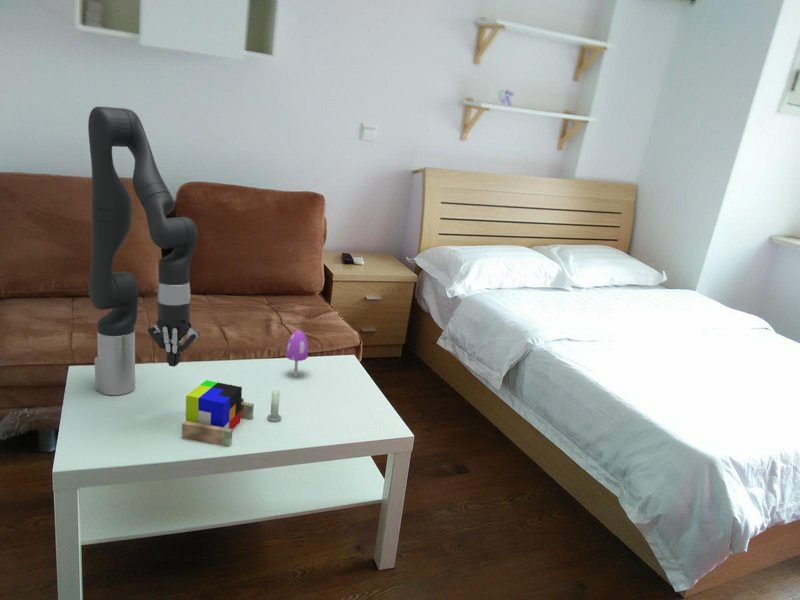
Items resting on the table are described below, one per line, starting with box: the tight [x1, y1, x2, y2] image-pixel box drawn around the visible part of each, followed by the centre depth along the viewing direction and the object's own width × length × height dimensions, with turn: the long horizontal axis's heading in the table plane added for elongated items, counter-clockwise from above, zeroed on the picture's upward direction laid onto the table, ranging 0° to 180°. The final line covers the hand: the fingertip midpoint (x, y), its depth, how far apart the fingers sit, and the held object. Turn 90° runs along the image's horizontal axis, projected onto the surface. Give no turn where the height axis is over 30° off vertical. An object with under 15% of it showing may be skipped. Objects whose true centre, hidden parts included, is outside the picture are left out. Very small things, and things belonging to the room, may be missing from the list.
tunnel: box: [181, 397, 255, 447], centre depth 161 cm, size 12×22×4 cm, turn 172°
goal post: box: [266, 389, 282, 423], centre depth 166 cm, size 4×4×8 cm
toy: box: [285, 330, 309, 378], centre depth 193 cm, size 7×7×15 cm
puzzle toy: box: [185, 379, 243, 431], centre depth 158 cm, size 10×10×10 cm
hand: (173, 365), depth 156 cm, fingers closed
